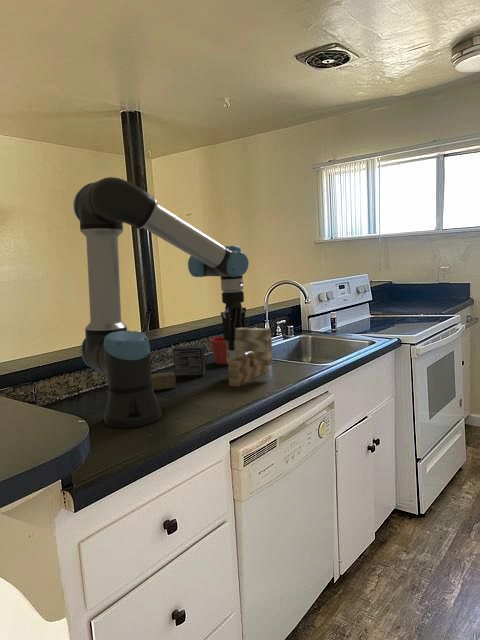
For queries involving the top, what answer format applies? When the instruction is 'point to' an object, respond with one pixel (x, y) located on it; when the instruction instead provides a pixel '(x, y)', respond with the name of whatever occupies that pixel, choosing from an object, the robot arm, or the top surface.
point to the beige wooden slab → (253, 344)
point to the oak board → (244, 370)
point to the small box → (189, 361)
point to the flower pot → (219, 350)
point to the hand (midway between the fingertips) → (236, 357)
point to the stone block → (163, 381)
